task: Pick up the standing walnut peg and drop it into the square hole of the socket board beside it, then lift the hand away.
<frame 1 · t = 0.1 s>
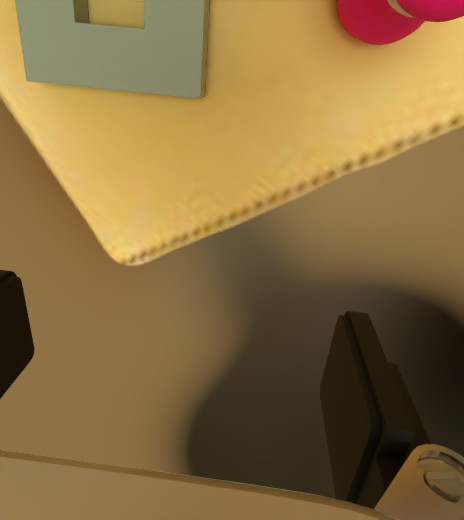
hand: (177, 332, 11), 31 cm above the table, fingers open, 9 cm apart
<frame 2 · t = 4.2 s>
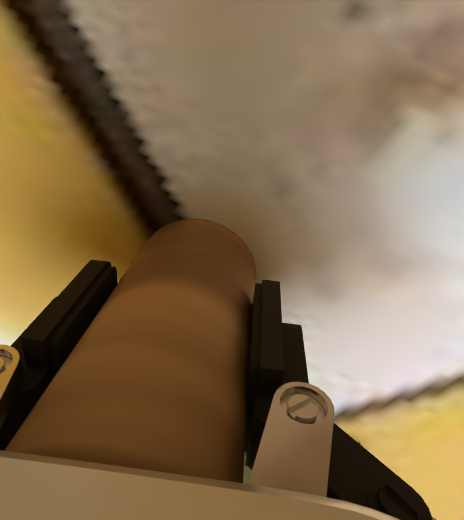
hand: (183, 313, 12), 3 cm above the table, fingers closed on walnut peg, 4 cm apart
walnut peg: (197, 273, 15), on the table, touching gripper
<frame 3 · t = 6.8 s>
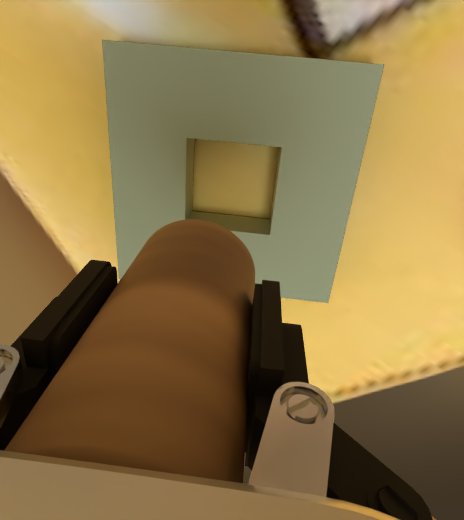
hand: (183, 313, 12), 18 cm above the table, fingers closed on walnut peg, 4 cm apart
walnut peg: (196, 274, 14), point 15 cm above the table, touching gripper
socket board: (234, 176, 28), on the table
when the fingers open (4 cm above the table, at t = 9.5 s): walnut peg drops 1 cm, resting in socket board.
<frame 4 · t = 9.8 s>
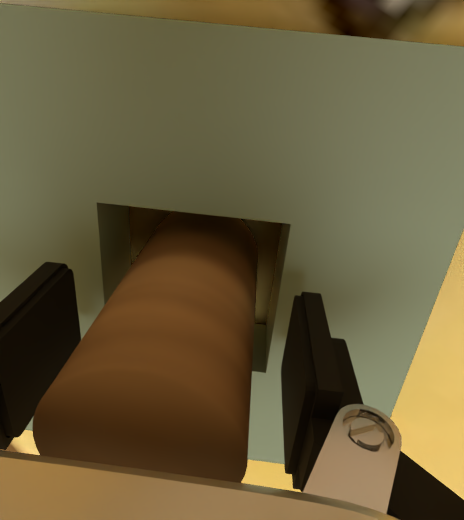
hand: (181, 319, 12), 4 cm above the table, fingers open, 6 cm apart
walnut peg: (204, 255, 16), resting in socket board
socket board: (202, 256, 16), on the table
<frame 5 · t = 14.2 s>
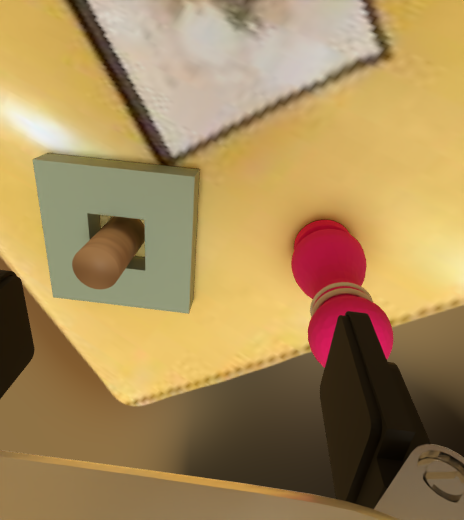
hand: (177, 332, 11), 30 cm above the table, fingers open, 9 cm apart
pepper mill: (322, 244, 43), on the table
walnut peg: (126, 231, 44), resting in socket board
socket board: (126, 231, 44), on the table
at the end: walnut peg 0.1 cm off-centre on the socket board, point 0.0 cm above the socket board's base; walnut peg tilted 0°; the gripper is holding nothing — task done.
